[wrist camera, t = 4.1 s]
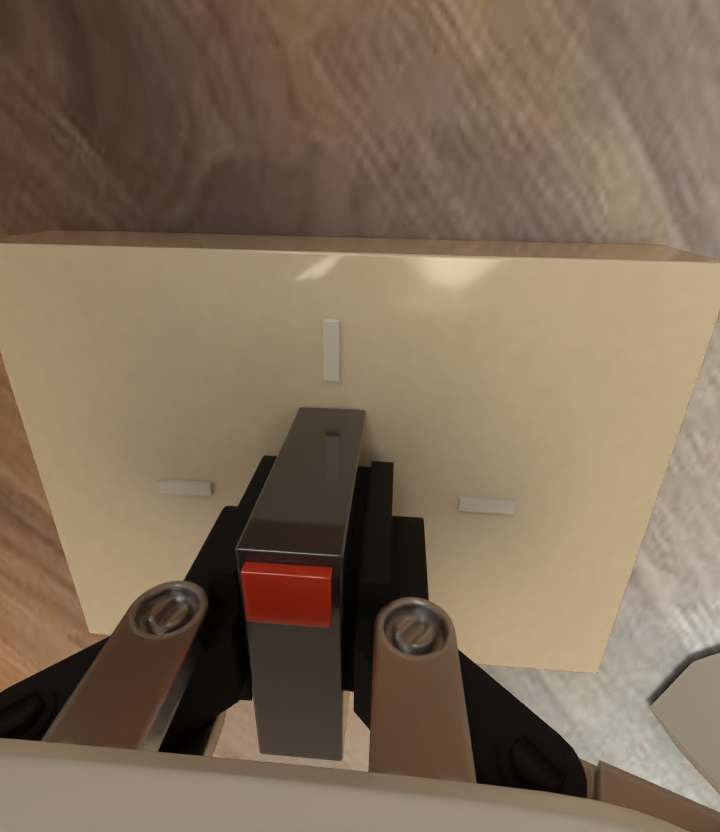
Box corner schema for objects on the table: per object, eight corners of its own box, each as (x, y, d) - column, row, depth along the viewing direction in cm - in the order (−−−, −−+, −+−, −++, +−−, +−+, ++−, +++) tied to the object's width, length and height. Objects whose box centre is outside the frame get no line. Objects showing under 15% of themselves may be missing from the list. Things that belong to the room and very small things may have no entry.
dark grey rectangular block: (362, 571, 14) (341, 776, 9) (305, 567, 14) (255, 768, 9) (366, 409, 11) (341, 568, 7) (298, 406, 12) (228, 560, 7)
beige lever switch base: (134, 568, 18) (85, 638, 16) (52, 229, 13) (-43, 242, 10) (567, 598, 17) (599, 679, 15) (664, 244, 12) (743, 264, 9)
